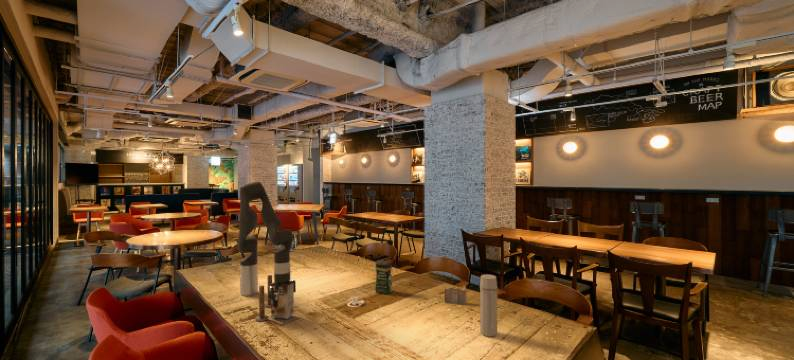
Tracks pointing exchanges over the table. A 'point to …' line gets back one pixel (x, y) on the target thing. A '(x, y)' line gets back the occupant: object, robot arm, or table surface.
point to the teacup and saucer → (355, 302)
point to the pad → (283, 319)
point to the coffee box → (284, 301)
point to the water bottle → (488, 305)
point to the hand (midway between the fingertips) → (282, 304)
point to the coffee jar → (383, 277)
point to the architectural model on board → (455, 295)
